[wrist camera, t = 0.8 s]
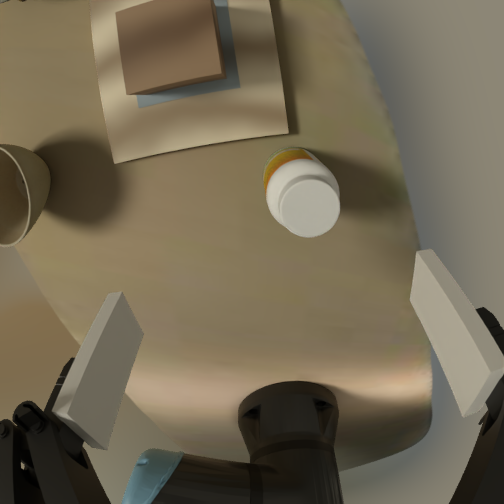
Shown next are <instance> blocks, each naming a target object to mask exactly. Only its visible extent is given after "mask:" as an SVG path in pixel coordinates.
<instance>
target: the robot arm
mask: <svg viewBox="0 0 504 504" xmlns="http://www.w3.org/2000/svg"><path fill="white" fill-rule="evenodd" d="M410 302H411V304H412V305H413V307H414V309H415V311H416V313H417V315H418V317H419V319H420V321H421V323H422V325H423V327H424V329H425V331H426V333H427V336H428V338H429V340H430V342H431V344H432V346H433V348H434V350H435V353H436V355H437V357H438V359H439V361H440V364H441V366H442V368H443V370H444V373H445V375H446V377H447V380H448V382H449V384H450V387H451V389H452V392H453V394H454V397H455V399H456V402H457V404H458V407H459V409H460V412H461V415H462V417H466V416H468V415H471V414H473V413H476V412H479V411H480V410H481V408H482V407H483V405H484V404H485V403H486V405H487V407H488V411H487V412H486V413H485V415H484V416H483V417H482V419H481V420H480V422H479V425H481V424H482V422H483V424H482V427H481V430H480V433H479V436H478V439H477V441H476V444H475V447H474V449H473V452H472V454H471V457H470V459H469V462H468V464H467V467H466V469H465V471H464V473H463V476H462V478H461V480H460V482H459V484H458V486H457V488H456V491H455V493H454V495H453V497H452V499H451V501H450V502H449V504H504V330H503V329H502V327H501V326H500V324H499V322H498V321H497V319H496V318H495V316H494V315H493V314H492V313H491V312H490V311H488V310H487V309H486V308H484V307H482V308H478V309H475V308H474V307H473V306H472V304H471V302H470V301H469V300H468V298H467V297H466V295H465V294H464V293H463V291H462V289H461V288H460V287H459V285H458V284H457V282H456V281H455V279H454V278H453V277H452V275H451V274H450V273H449V271H448V270H447V269H446V267H445V266H444V264H443V263H442V262H441V261H440V259H439V258H438V257H437V255H436V254H435V253H434V251H433V250H432V249H427V250H421V251H416V260H415V268H414V275H413V282H412V289H411V295H410ZM143 335H144V333H143V331H142V329H141V328H140V326H139V324H138V322H137V320H136V318H135V316H134V314H133V312H132V310H131V308H130V306H129V304H128V303H127V301H126V299H125V296H124V294H123V292H115V293H109V294H108V295H107V297H106V299H105V301H104V303H103V305H102V306H101V308H100V310H99V312H98V314H97V316H96V318H95V320H94V322H93V324H92V325H91V327H90V329H89V331H88V333H87V335H86V337H85V339H84V341H83V343H82V345H81V347H80V349H79V351H78V354H77V356H76V358H71V359H70V360H69V361H68V363H67V364H66V365H65V366H64V368H63V370H62V372H61V374H60V378H58V380H57V382H56V385H55V387H54V389H53V391H52V393H51V396H50V398H49V400H48V402H47V405H46V407H45V409H44V412H43V411H42V410H41V409H40V408H39V407H38V406H37V405H36V404H35V403H33V402H32V401H25V402H22V403H21V404H20V405H18V407H17V408H16V409H15V411H14V414H13V422H14V423H15V424H16V425H17V426H16V425H14V423H12V422H11V421H10V420H8V419H4V420H2V421H0V504H111V503H110V501H109V499H108V497H107V495H106V493H105V491H104V489H103V487H102V485H101V483H100V481H99V479H98V477H97V475H96V472H95V470H94V468H93V466H92V464H91V461H90V459H89V457H88V454H87V452H86V450H85V449H84V448H83V447H82V445H83V442H84V441H85V442H86V443H87V444H88V445H90V446H91V447H92V448H98V449H103V450H107V448H108V445H109V441H110V437H111V434H112V431H113V427H114V424H115V420H116V417H117V414H118V411H119V407H120V404H121V400H122V398H123V394H124V391H125V388H126V385H127V382H128V379H129V376H130V373H131V370H132V367H133V364H134V361H135V358H136V355H137V352H138V349H139V346H140V344H141V341H142V338H143ZM338 418H339V410H338V405H337V401H336V398H335V396H334V394H333V393H332V392H331V391H329V390H328V389H326V388H325V387H323V386H320V385H317V384H313V383H307V382H284V383H278V384H273V385H270V386H266V387H264V388H261V389H259V390H257V391H255V392H253V393H251V394H250V395H248V396H247V397H246V398H245V399H244V400H243V401H242V403H241V404H240V406H239V410H238V425H239V429H240V431H241V434H242V436H243V439H244V442H245V444H246V447H247V449H248V452H249V454H250V463H243V462H235V461H227V460H220V459H213V458H207V457H201V456H196V455H190V454H185V453H184V452H173V451H167V450H162V449H155V448H152V449H148V450H146V451H144V452H143V453H142V454H141V456H140V457H139V458H138V460H137V462H136V465H135V467H134V469H133V472H132V474H131V477H130V479H129V482H128V485H127V487H126V490H125V493H124V497H123V500H122V503H121V504H344V501H343V496H342V490H341V485H340V479H339V474H338V468H337V463H336V458H335V452H334V441H335V435H336V429H337V424H338ZM21 462H22V463H23V464H24V465H25V468H24V470H23V469H22V468H21Z"/></svg>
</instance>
